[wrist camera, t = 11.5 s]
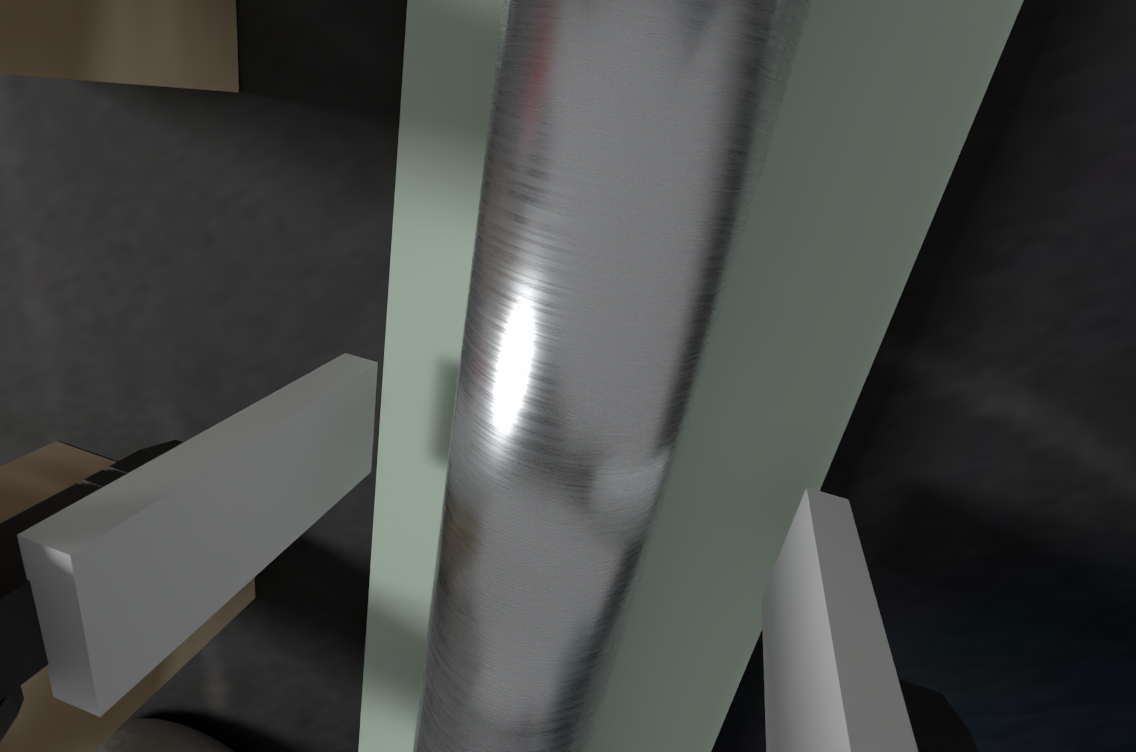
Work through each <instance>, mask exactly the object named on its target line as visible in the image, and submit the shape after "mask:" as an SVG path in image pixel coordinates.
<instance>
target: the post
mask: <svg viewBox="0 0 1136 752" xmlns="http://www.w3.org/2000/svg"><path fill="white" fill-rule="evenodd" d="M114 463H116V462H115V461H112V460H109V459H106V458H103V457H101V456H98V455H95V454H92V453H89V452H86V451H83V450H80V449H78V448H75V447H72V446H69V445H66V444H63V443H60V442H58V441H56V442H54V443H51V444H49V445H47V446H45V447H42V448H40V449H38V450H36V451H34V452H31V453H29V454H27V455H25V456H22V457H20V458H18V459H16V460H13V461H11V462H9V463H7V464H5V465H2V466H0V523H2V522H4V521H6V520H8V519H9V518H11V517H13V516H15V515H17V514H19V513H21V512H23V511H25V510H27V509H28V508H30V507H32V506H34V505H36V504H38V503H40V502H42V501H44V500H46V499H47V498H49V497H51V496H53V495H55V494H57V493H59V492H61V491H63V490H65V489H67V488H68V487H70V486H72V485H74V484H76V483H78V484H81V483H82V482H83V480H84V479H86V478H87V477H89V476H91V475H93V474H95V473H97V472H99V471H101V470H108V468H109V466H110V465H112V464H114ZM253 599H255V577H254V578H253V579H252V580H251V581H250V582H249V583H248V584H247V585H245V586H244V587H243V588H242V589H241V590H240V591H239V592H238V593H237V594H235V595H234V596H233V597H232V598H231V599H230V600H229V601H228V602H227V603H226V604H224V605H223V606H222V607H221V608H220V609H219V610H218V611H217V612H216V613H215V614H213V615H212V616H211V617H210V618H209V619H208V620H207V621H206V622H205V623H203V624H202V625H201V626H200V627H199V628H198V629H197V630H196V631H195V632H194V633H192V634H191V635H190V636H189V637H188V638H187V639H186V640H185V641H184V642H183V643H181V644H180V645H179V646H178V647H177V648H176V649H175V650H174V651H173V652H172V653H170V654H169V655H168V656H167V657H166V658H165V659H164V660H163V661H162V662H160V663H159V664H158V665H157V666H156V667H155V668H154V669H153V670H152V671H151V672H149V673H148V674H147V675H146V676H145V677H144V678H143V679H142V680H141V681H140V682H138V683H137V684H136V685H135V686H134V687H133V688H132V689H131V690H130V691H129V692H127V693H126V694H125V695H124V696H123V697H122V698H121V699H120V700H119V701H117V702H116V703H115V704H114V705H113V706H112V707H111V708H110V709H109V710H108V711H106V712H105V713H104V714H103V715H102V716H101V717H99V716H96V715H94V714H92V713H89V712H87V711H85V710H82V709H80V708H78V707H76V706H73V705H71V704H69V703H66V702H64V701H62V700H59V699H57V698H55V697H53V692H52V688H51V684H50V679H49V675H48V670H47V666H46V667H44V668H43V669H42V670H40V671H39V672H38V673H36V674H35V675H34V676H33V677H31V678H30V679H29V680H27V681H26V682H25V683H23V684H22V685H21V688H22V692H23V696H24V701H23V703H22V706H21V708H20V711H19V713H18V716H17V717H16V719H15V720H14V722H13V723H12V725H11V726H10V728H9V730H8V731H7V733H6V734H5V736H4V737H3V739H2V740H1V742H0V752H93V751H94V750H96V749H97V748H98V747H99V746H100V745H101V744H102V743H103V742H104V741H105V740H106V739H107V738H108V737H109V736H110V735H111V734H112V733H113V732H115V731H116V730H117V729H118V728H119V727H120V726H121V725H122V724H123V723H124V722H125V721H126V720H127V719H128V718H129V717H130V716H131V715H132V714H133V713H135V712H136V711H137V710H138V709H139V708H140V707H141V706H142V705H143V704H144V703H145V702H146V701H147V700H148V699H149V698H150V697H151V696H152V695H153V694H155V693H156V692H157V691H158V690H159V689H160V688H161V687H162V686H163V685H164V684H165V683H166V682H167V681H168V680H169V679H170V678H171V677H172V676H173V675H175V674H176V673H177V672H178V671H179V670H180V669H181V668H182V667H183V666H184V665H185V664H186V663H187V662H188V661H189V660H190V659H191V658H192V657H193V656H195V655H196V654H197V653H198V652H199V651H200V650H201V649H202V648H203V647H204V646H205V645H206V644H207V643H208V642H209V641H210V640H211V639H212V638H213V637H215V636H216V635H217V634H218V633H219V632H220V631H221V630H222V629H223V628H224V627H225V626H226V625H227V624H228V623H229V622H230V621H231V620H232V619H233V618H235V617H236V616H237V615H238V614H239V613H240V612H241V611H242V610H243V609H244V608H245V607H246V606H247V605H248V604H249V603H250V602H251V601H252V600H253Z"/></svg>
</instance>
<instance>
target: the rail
mask: <svg viewBox="0 0 1136 752" xmlns="http://www.w3.org/2000/svg"><path fill="white" fill-rule="evenodd" d="M812 1H813V0H503V8H502V17H501V25H500V33H499V41H498V50H497V58H496V66H495V75H494V83H493V91H492V99H491V108H490V116H489V124H488V133H487V141H486V149H485V157H484V166H483V174H482V182H481V190H480V199H479V207H478V215H477V224H476V232H475V240H474V248H473V257H472V265H471V273H470V281H469V290H468V298H467V306H466V315H465V323H464V331H463V339H462V348H461V356H460V364H459V373H458V381H457V389H456V397H455V406H454V414H453V422H452V430H451V439H450V447H449V455H448V464H447V472H446V480H445V488H444V497H443V505H442V513H441V521H440V530H439V538H438V546H437V555H436V563H435V571H434V579H433V588H432V596H431V604H430V613H429V621H428V629H427V637H426V646H425V654H424V662H423V670H422V679H421V687H420V695H419V704H418V712H417V720H416V728H415V737H414V745H413V752H590V748H591V745H592V742H593V738H594V735H595V731H596V728H597V725H598V721H599V718H600V715H601V711H602V708H603V705H604V701H605V698H606V694H607V691H608V688H609V684H610V681H611V678H612V674H613V671H614V667H615V664H616V661H617V657H618V654H619V651H620V647H621V644H622V641H623V637H624V634H625V630H626V627H627V624H628V620H629V617H630V614H631V610H632V607H633V603H634V600H635V597H636V593H637V590H638V587H639V583H640V580H641V577H642V573H643V570H644V566H645V563H646V560H647V556H648V553H649V550H650V546H651V543H652V539H653V536H654V533H655V529H656V526H657V523H658V519H659V516H660V513H661V509H662V506H663V502H664V499H665V496H666V492H667V489H668V486H669V482H670V479H671V475H672V472H673V469H674V465H675V462H676V459H677V455H678V452H679V449H680V445H681V442H682V438H683V435H684V432H685V428H686V425H687V422H688V418H689V415H690V411H691V408H692V405H693V401H694V398H695V395H696V391H697V388H698V385H699V381H700V378H701V374H702V371H703V368H704V364H705V361H706V358H707V354H708V351H709V348H710V344H711V341H712V337H713V334H714V331H715V327H716V324H717V321H718V317H719V314H720V310H721V307H722V304H723V300H724V297H725V294H726V290H727V287H728V284H729V280H730V277H731V273H732V270H733V267H734V263H735V260H736V257H737V253H738V250H739V246H740V243H741V240H742V236H743V233H744V230H745V226H746V223H747V220H748V216H749V213H750V209H751V206H752V203H753V199H754V196H755V193H756V189H757V186H758V182H759V179H760V176H761V172H762V169H763V166H764V162H765V159H766V156H767V152H768V149H769V145H770V142H771V139H772V135H773V132H774V129H775V125H776V122H777V118H778V115H779V112H780V108H781V105H782V102H783V98H784V95H785V92H786V88H787V85H788V81H789V78H790V75H791V71H792V68H793V65H794V61H795V58H796V54H797V51H798V48H799V44H800V41H801V38H802V34H803V31H804V28H805V24H806V21H807V17H808V14H809V11H810V7H811V4H812Z"/></svg>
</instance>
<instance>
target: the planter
mask: <svg viewBox="0 0 1136 752" xmlns="http://www.w3.org/2000/svg"><path fill="white" fill-rule="evenodd" d="M93 752H235V751H233V750H232V749H230V748H229V747H227V746H226V745H224V744H223V743H221V742H219V741H218V740H216V739H214V738H213V737H211V736H209V735H207V734H205V733H203V732H201V731H198V730H196V729H193V728H191V727H188V726H185V725H182V724H179V723H175V722H171V721H166V720H161V719H153V718H128V719H127V720H126V721H125V722H124V723H123V724H122V725H121V726H120V727H119V728H118V729H117V730H116V731H115V732H113V733H112V734H111V735H110V736H109V737H108V738H107V739H106V740H105V741H104V742H103V743H102V744H101V745H100V746H99V747H98V748H97V749H96V750H94V751H93Z"/></svg>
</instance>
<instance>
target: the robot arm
mask: <svg viewBox="0 0 1136 752" xmlns="http://www.w3.org/2000/svg"><path fill="white" fill-rule="evenodd" d="M377 364H378V362H374V361H371V360H367V359H364V358H360V357H357V356H353V355H350V354H347V353H345V354H343V355H341V356H339V357H337V358H336V359H334V360H332V361H330V362H328V363H327V364H325V365H323V366H321V367H319V368H318V369H316V370H314V371H312V372H310V373H309V374H307V375H305V376H303V377H301V378H299V379H298V380H296V381H294V382H292V383H290V384H289V385H287V386H285V387H283V388H281V389H280V390H278V391H276V392H274V393H272V394H271V395H269V396H267V397H265V398H263V399H262V400H260V401H258V402H256V403H254V404H252V405H251V406H249V407H247V408H245V409H243V410H242V411H240V412H238V413H236V414H234V415H233V416H231V417H229V418H227V419H225V420H224V421H222V422H220V423H218V424H216V425H215V426H213V427H211V428H209V429H207V430H206V431H204V432H202V433H200V434H198V435H196V436H195V437H193V438H191V439H189V440H187V441H186V442H181V441H178V440H173V441H170V442H166V443H163V444H159V445H156V446H152V447H149V448H145V449H142V450H139V451H137V452H135V453H133V454H131V455H129V456H127V457H125V458H124V459H122V460H120V461H118V462H116V463H114V464H112V465H110V466H109V468H108V470H101V471H99V472H97V473H95V474H93V475H91V476H89V477H87V478H86V479H84V480H83V482H82V483H81V484H78V483H76V484H74V485H72V486H70V487H68V488H67V489H65V490H63V491H61V492H59V493H57V494H55V495H53V496H51V497H49V498H47V499H46V500H44V501H42V502H40V503H38V504H36V505H34V506H32V507H30V508H28V509H27V510H25V511H23V512H21V513H19V514H17V515H15V516H13V517H11V518H9V519H8V520H6V521H4V522H2V523H0V742H1V740H2V739H3V737H4V736H5V734H6V733H7V731H8V730H9V728H10V726H11V725H12V723H13V722H14V720H15V719H16V717H17V716H18V713H19V711H20V708H21V706H22V703H23V701H24V696H23V692H22V688H21V685H22V684H23V683H25V682H26V681H27V680H29V679H30V678H31V677H33V676H34V675H35V674H36V673H38V672H39V671H40V670H42V669H43V668H44V667H46V666H47V670H48V675H49V679H50V684H51V688H52V692H53V697H55V698H57V699H59V700H62V701H64V702H66V703H69V704H71V705H73V706H76V707H78V708H80V709H82V710H85V711H87V712H89V713H92V714H94V715H96V716H99V717H101V716H102V715H103V714H104V713H105V712H106V711H108V710H109V709H110V708H111V707H112V706H113V705H114V704H115V703H116V702H117V701H119V700H120V699H121V698H122V697H123V696H124V695H125V694H126V693H127V692H129V691H130V690H131V689H132V688H133V687H134V686H135V685H136V684H137V683H138V682H140V681H141V680H142V679H143V678H144V677H145V676H146V675H147V674H148V673H149V672H151V671H152V670H153V669H154V668H155V667H156V666H157V665H158V664H159V663H160V662H162V661H163V660H164V659H165V658H166V657H167V656H168V655H169V654H170V653H172V652H173V651H174V650H175V649H176V648H177V647H178V646H179V645H180V644H181V643H183V642H184V641H185V640H186V639H187V638H188V637H189V636H190V635H191V634H192V633H194V632H195V631H196V630H197V629H198V628H199V627H200V626H201V625H202V624H203V623H205V622H206V621H207V620H208V619H209V618H210V617H211V616H212V615H213V614H215V613H216V612H217V611H218V610H219V609H220V608H221V607H222V606H223V605H224V604H226V603H227V602H228V601H229V600H230V599H231V598H232V597H233V596H234V595H235V594H237V593H238V592H239V591H240V590H241V589H242V588H243V587H244V586H245V585H247V584H248V583H249V582H250V581H251V580H252V579H253V578H254V577H255V576H256V575H258V574H259V573H260V572H261V571H262V570H263V569H264V568H265V567H266V566H267V565H269V564H270V563H271V562H272V561H273V560H274V559H275V558H276V557H277V556H278V555H280V554H281V553H282V552H283V551H284V550H285V549H286V548H287V547H288V546H290V545H291V544H292V543H293V542H294V541H295V540H296V539H297V538H298V537H299V536H301V535H302V534H303V533H304V532H305V531H306V530H307V529H308V528H309V527H310V526H312V525H313V524H314V523H315V522H316V521H317V520H318V519H319V518H320V517H321V516H323V515H324V514H325V513H326V512H327V511H328V510H329V509H330V508H331V507H333V506H334V505H335V504H336V503H337V502H338V501H339V500H340V499H341V498H342V497H344V496H345V495H346V494H347V493H348V492H349V491H350V490H351V489H352V488H353V487H355V486H356V485H357V484H358V483H359V482H360V481H361V480H362V479H363V478H364V477H366V476H367V475H368V474H369V473H370V472H371V463H372V446H373V430H374V414H375V397H376V381H377ZM762 629H763V660H764V691H765V722H766V752H977V749H976V747H975V744H974V741H973V739H972V736H971V733H970V731H969V730H968V728H967V727H966V726H965V724H964V723H963V721H962V720H961V719H960V717H959V716H958V715H957V713H956V712H955V711H954V709H953V708H952V707H951V705H950V704H949V702H948V701H947V700H946V698H945V697H944V696H943V694H942V693H939V692H936V691H933V690H930V689H927V688H924V687H921V686H918V685H915V684H912V683H909V682H906V681H903V680H900V679H898V677H897V673H896V669H895V666H894V662H893V659H892V655H891V651H890V648H889V644H888V641H887V637H886V633H885V630H884V626H883V623H882V619H881V615H880V612H879V608H878V604H877V601H876V597H875V594H874V590H873V586H872V583H871V579H870V576H869V572H868V568H867V565H866V561H865V558H864V554H863V550H862V547H861V543H860V539H859V536H858V532H857V529H856V525H855V521H854V518H853V514H852V511H851V507H850V503H849V500H848V499H845V498H842V497H838V496H835V495H831V494H828V493H824V492H821V491H817V490H814V489H811V488H807V487H806V490H805V492H804V494H803V497H802V499H801V502H800V504H799V507H798V509H797V512H796V514H795V517H794V519H793V522H792V524H791V527H790V529H789V532H788V534H787V537H786V539H785V541H784V544H783V546H782V549H781V551H780V554H779V556H778V559H777V561H776V564H775V566H774V569H773V571H772V574H771V576H770V579H769V581H768V583H767V586H766V588H765V591H764V593H763V596H762Z"/></svg>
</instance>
